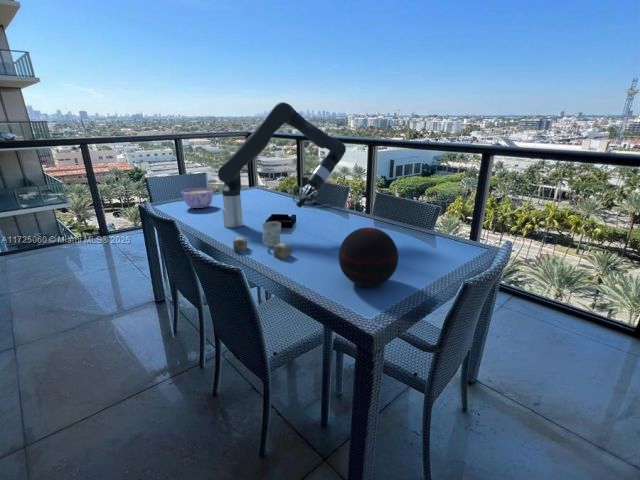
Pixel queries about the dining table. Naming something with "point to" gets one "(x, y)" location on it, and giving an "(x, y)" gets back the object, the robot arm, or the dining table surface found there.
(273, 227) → the mug
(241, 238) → the walnut block left
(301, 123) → the robot arm
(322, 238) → the dining table surface
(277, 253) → the walnut block right
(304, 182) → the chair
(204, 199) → the bowl of food
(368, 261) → the decorative orb
